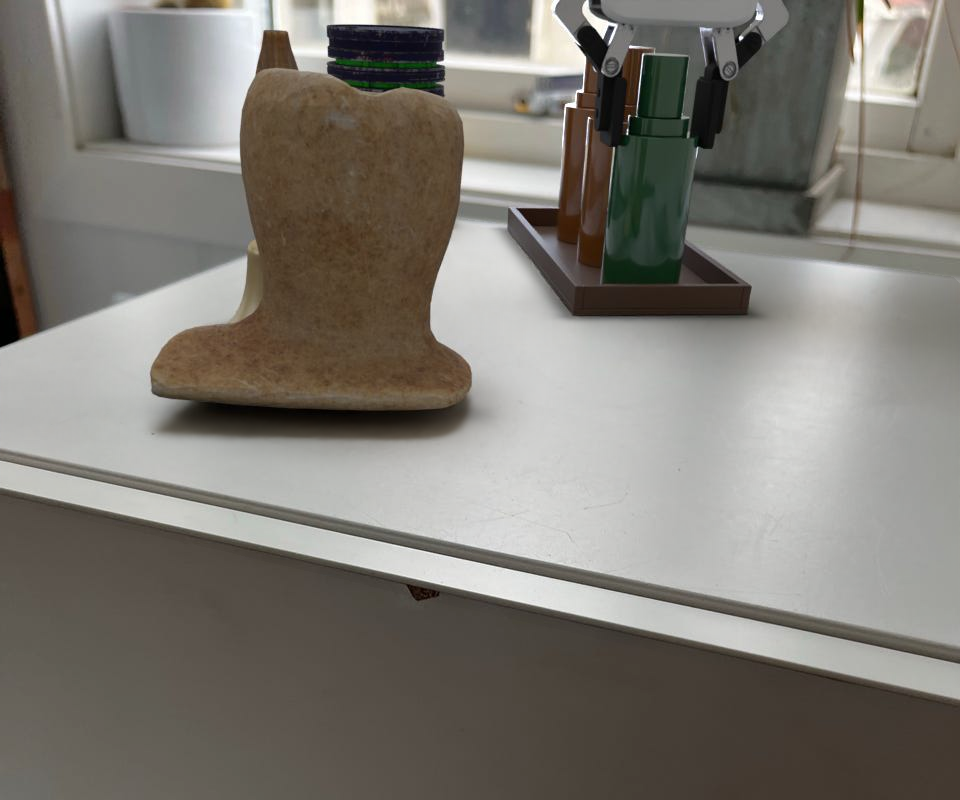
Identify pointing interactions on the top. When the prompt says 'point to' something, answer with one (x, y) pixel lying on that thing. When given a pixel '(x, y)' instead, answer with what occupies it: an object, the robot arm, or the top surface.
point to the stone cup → (336, 254)
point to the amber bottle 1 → (574, 157)
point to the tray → (582, 293)
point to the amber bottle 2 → (603, 169)
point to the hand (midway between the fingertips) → (655, 142)
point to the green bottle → (651, 180)
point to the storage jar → (387, 57)
